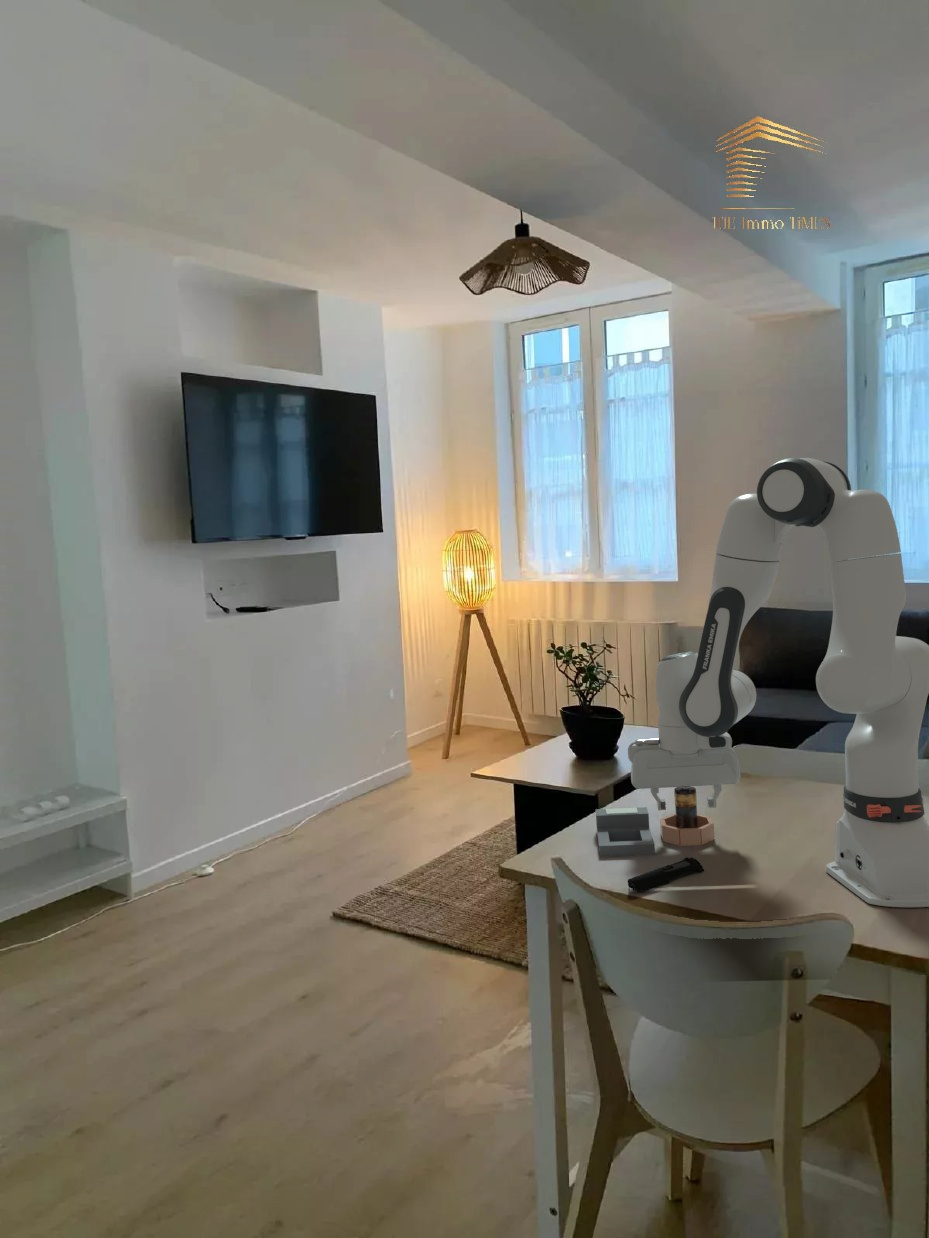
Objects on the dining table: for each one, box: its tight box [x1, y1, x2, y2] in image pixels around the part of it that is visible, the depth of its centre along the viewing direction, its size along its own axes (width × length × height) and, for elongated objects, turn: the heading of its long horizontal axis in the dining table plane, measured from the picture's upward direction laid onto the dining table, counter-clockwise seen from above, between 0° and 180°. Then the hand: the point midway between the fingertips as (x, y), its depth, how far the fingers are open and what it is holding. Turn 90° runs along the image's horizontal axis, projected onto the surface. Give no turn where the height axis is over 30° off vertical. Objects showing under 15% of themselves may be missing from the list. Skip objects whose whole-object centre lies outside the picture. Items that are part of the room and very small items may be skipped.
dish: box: [659, 813, 715, 847], centre depth 180 cm, size 10×10×4 cm
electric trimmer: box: [627, 857, 705, 892], centre depth 160 cm, size 4×16×3 cm, turn 121°
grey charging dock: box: [595, 806, 656, 858], centre depth 179 cm, size 14×10×5 cm
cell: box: [673, 786, 698, 829], centre depth 179 cm, size 4×4×10 cm
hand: (686, 808), depth 179 cm, fingers open, 8 cm apart
